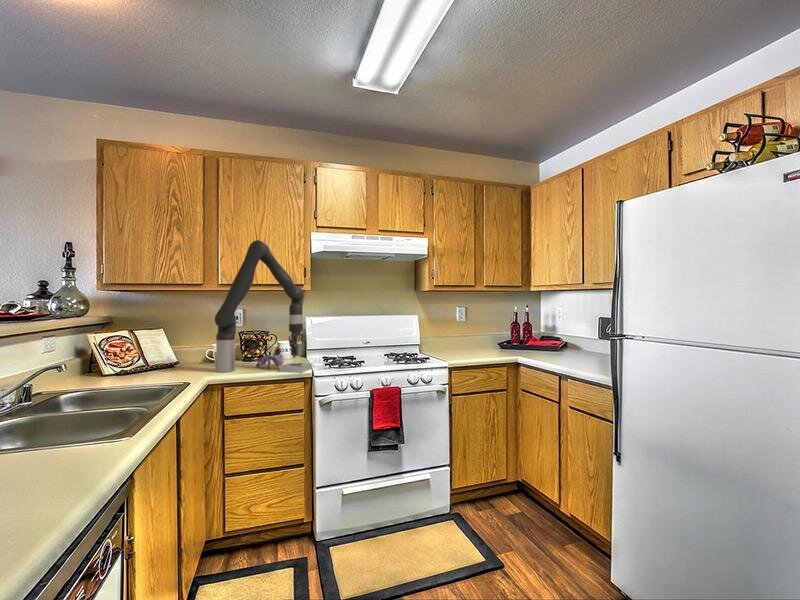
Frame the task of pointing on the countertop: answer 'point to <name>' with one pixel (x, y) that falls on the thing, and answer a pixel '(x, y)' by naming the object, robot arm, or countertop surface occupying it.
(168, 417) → the countertop surface
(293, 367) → the socket plate
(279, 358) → the toy
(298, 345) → the plug
